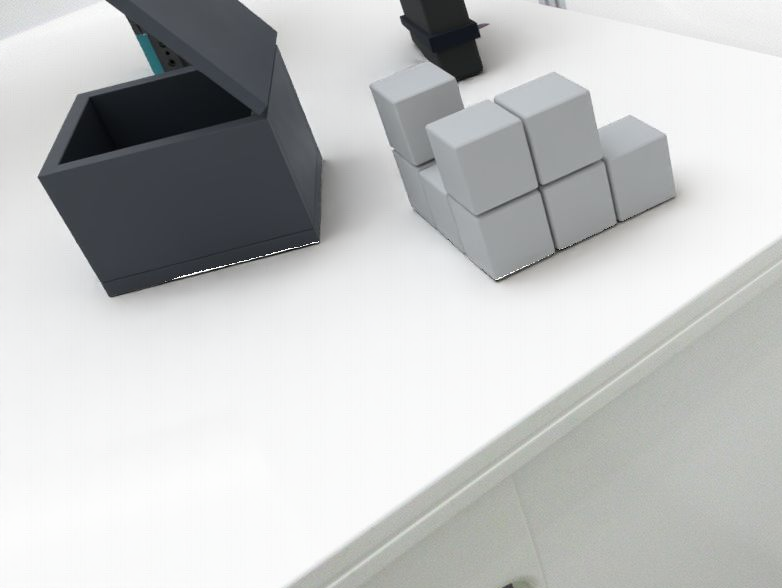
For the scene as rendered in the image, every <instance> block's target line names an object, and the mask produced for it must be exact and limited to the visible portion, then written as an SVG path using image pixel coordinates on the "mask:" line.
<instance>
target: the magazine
mask: <svg viewBox="0 0 782 588" xmlns="http://www.w3.org/2000/svg"><path fill="white" fill-rule="evenodd" d="M399 3H400V6H401V9H402V12H403V14H402V15H400V16H399V20H400V23H401V25H402V26H403V27H404V28H406V29H407V30H408V32H409V34H410V37H411V41H412V42H413V44H414V45H415V46H416V47H417V48H418V49H419V51H420V52H421V53H422V54H423V55H424V57H425V58H426V59H427V61H430V62H431V63H433V64H434V65H436V66H438V67H439V68H441V69H442V70H444V71H445V72H447V73H449V74H450V75H452V76H453V77H455V79H456V81H457V82H458V81H460V80H462V79H463V80H464V79H465V78H468V77H472V76H474V75H478V74H481V73H482V72H483V71H484V65H483V62H482V58H481V55H480V51H479V47H478V44H477V40H478V39H481V38H482V36H481V32H480V29H479V28H480V27H479V25H478V22H477V21H475V20H473V19H471V18H470V16H469V12H468V9H467V6H466V2H465V0H399Z"/></svg>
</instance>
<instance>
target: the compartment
mask: <svg viewBox="0 0 782 588" xmlns="http://www.w3.org/2000/svg"><path fill="white" fill-rule="evenodd" d="M37 179H38V181H39V183H40V184H41V186H42V188H43V189H44V191H45V192H46V194H47V196H48V197H49V199H50V201H51V203H52V205H53V206H54V207H55V209H56V211H57V212H58V214H59V216H60V217H61V219H62V221H63V222H64V224H65V226H66V227H67V229H68V231H69V232H70V234H71V236H72V238H73V239H74V240H75V242H76V244H77V246H78V248H79V249H80V251H81V252H82V254H83V256H84V257H85V259H86V261H87V262H88V264H89V266H90V267H91V269H92V271H93V272H94V274H95V276H96V277H97V279H98V281H99V282H100V283H101V286H102V287H103V289H104V291H105V293H106V294H107V296H108V297H109V298H112V297H115V296H119V295H123V294H127V293H130V292H135V291H138V290H142V289H147V288H151V287H154V286H157V285H156V284H158V285H161V284H160V283H162V284H164V283H163V282H165V281H170V280H172V279H174V278H177V277H179V276H180V277H181V276H183V275H188V274H192V273H194V272H199V271H201V270H202V271H204V270H206V269H211V268H216V267H219V266H224V265H229V264H232V263H237V262H239V261H244V260H249V259H251V258H256V257H259V256H265V255H266V254H271V253H273V252H278V251H281V250H285V249H288V248H294V247H300V246H303V245H306V244H310V243H312V242H318V241H319V242H320V239H319V235H321V211H322V188H323V187H322V186H323V156H322V153H321V151H320V149H319V146H318V143H317V141H316V139H315V136H314V133H313V131H312V129H311V126H310V123H309V120H308V119H307V116H306V113H305V111H304V108H303V106H302V103H301V101H300V98H299V96H298V93H297V91H296V88H295V86H294V83H293V81H292V78H291V75H290V73H289V71H288V68H287V66H286V63H285V61H284V58H283V56H282V53H281V51H280V48H279V46H278V44H276V47H275V54H274V61H273V68H272V75H271V82H270V89H269V97H268V104H267V107H266V108H265V109H264V110H263V112H262V113H261V114H260V115H258V114H257V113H255V112H254V111H253V110H251V109H250V108H249V107H247V106H246V105H244V104H243V103H242V102H240V101H239V100H238V99H236V98H235V97H234V96H232V95H231V94H230V93H228V92H227V91H226V90H224V89H223V88H222V87H220V86H219V85H218V84H216V83H215V82H214V81H212V80H211V79H210V78H208V77H207V76H206V75H204V74H203V73H202V72H200V71H199V70H198V69H196V68H195V67H194V66H188V67H184V68H180V69H176V70H172V71H169V72H165V73H161V74H157V75H154V74H152V75H148V76H144V77H141V78H137V79H134V80H128V81H125V82H121V83H117V84H113V85H109V86H105V87H102V88H97V89H93V90H89V91H86V92H80V93H78V94H77V95H76V96H75V98H74V101H72V104H71V106H70V109H69V111H68V112H67V115H66V117H65V119H64V121H63V123H62V125H61V127H60V130H59V131H58V133H57V136H56V137H55V139H54V142H53V143H52V146H51V148H50V150H49V152H48V154H47V156H46V158H45V160H44V162H43V165H42V167H41V169H40V171H39V173H38V175H37ZM319 231H320V232H319ZM170 282H171V281H170ZM146 287H147V288H146Z"/></svg>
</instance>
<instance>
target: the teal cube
mask: <svg viewBox="0 0 782 588" xmlns="http://www.w3.org/2000/svg"><path fill="white" fill-rule="evenodd" d="M133 33H134V36H135V37H136V40H137V42H138V44H139V47H140V48H141V50H142V52H143V55H144V57H145V58H146V61H147V62H148V64H149V66H150V69H151V70H152V73H153V75H157V74H161V73H165V72H164V70H163V68H162V66H161V64H160V62H159V60H158V57H157V55H156V53H155V51H154V49H153V47H152V45H151V43H150V41H149V39H148V37H147V35H146V36H144V35H139V36H137V35H136V34H135V32H134V31H133Z"/></svg>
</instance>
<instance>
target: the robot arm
mask: <svg viewBox="0 0 782 588" xmlns="http://www.w3.org/2000/svg"><path fill="white" fill-rule="evenodd" d="M124 17H125V18H126V20H127V21H128V22H127V23H129V26H130V27H131V30H132V32H133V33H134V32H135V34H136V35H137V36H139V35H144V36H146V35H147V37H148V39H149V41H150V43H151V45H152V47H153V49H154V51H155V53H156V55H157V57H158V60H159V62H160V64H161V66H162V68H163V70H164V72H169V71H172V70H176V69H180V68H184V67H188V66H192V65H191V64H190V63H188V62H187V61H186V60H184V59H183V58H182V57H180V56H179V55H178V54H176V53H175V52H174V51H172V50H171V49H170V48H168V47H167V46H166V45H164V44H163V43H162V42H160V41H159V40H158V39H156V38H155V37H154V36H152V35H151V34H150V33H148V32H147V31H146V30H144V29H143V28H142V27H140V26H139V25H138V24H136V23H135V22H134V21H132V20H131V19H130V18H128V17H127V16H126V15H124ZM135 34H134V35H135Z"/></svg>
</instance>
